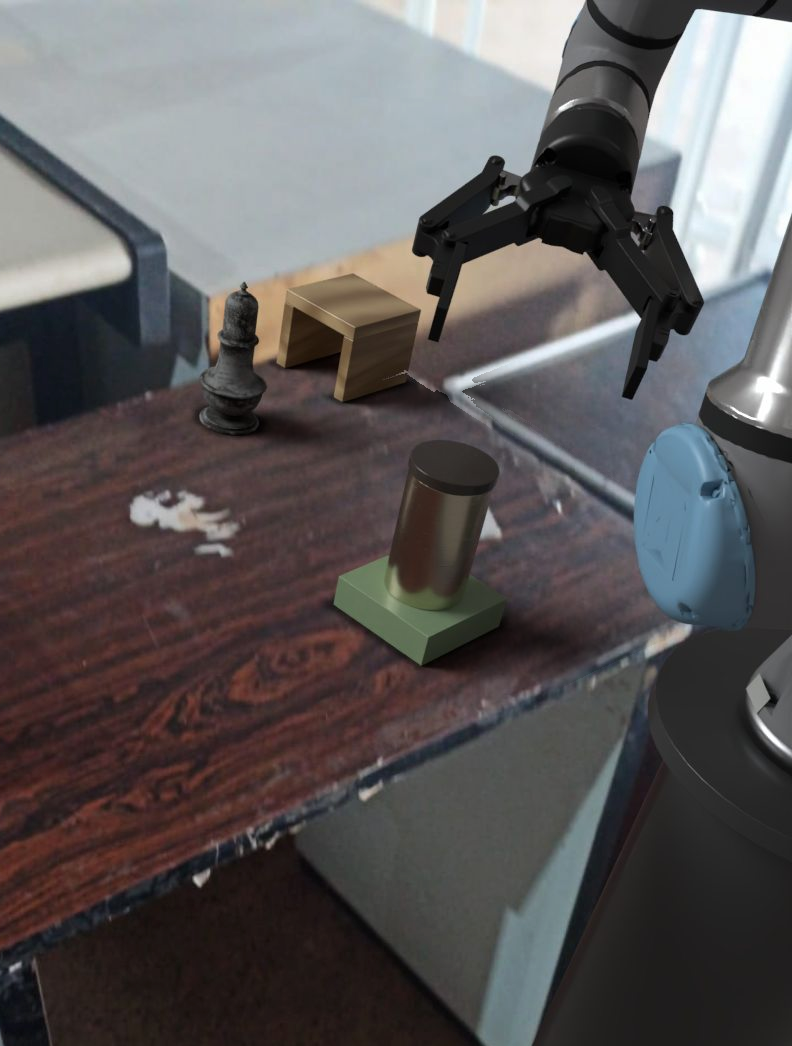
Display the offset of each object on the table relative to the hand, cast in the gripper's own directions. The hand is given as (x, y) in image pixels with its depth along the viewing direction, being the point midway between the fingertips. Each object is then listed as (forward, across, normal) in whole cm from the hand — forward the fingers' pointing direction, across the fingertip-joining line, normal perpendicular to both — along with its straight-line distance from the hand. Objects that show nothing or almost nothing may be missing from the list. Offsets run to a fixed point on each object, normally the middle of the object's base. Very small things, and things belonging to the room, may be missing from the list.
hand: (535, 354), depth 85 cm
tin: (+9, +2, -15) cm, 17 cm away
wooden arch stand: (-26, +15, -30) cm, 43 cm away
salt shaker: (-12, +23, -26) cm, 37 cm away
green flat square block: (+10, +2, -17) cm, 20 cm away
